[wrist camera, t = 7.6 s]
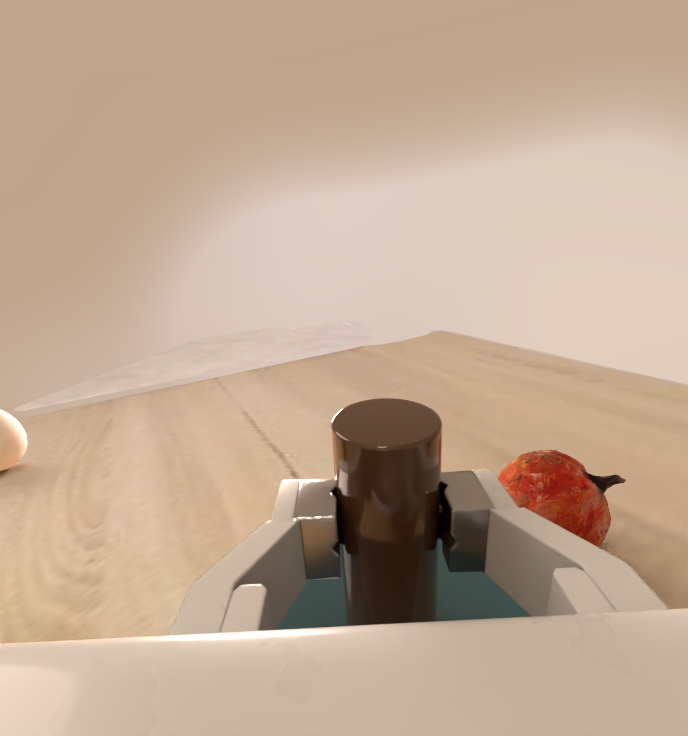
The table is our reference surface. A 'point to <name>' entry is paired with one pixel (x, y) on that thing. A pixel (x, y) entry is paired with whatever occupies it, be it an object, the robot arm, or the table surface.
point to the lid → (392, 529)
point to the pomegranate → (561, 492)
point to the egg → (11, 441)
